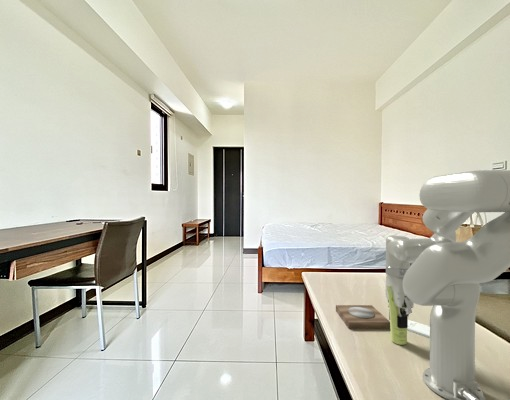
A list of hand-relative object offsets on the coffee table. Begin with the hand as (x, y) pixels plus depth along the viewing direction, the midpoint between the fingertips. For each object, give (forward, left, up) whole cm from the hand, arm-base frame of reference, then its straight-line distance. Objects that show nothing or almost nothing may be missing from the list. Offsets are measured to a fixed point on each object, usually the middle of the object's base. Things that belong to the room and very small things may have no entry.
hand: (398, 323), depth 91 cm
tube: (0, 0, -7) cm, 7 cm away
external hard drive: (+8, -13, -7) cm, 17 cm away
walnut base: (+17, +6, -6) cm, 19 cm away
